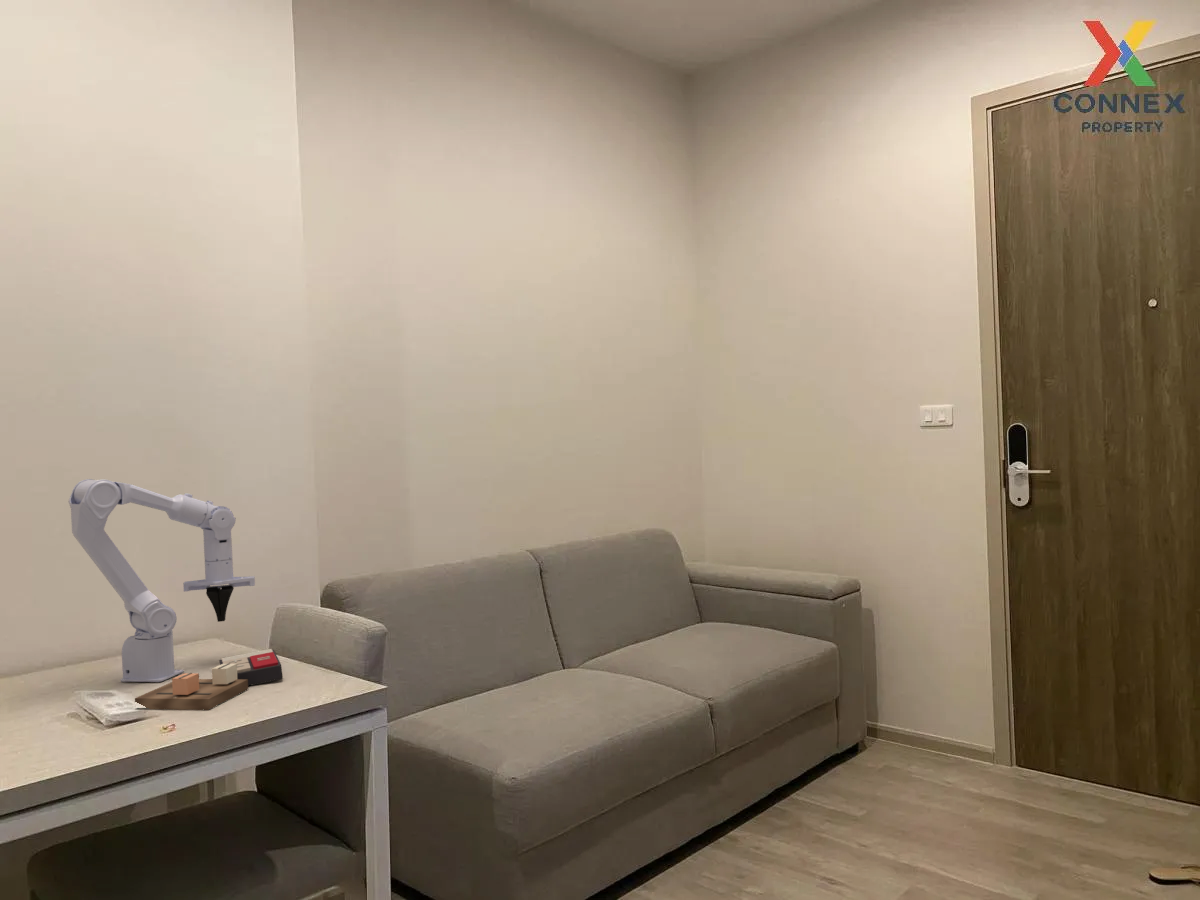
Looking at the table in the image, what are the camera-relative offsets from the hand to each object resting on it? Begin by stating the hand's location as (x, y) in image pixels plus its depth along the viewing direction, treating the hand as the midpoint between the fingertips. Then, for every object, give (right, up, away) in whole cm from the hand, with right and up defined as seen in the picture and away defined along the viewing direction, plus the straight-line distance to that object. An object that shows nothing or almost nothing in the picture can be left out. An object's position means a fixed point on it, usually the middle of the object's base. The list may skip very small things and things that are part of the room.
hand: (221, 620), depth 200 cm
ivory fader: (+11, -7, -25) cm, 28 cm away
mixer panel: (+6, -10, -28) cm, 30 cm away
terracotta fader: (+7, -7, -31) cm, 33 cm away
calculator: (+12, -10, -13) cm, 20 cm away
